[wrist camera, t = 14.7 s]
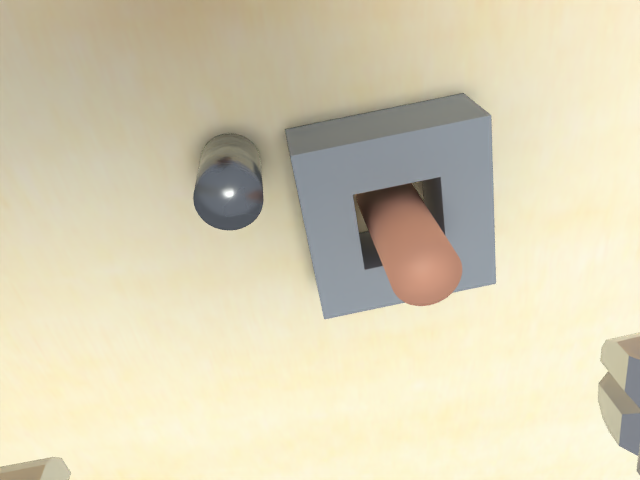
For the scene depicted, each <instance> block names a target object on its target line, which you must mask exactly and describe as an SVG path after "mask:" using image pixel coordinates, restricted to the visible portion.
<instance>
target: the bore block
mask: <svg viewBox="0 0 640 480" xmlns="http://www.w3.org/2000/svg"><path fill="white" fill-rule="evenodd" d="M285 132H286V137H287V142H288V147H289V152H290V157H291V162H292V167H293V172H294V177H295V181H296V186H297V191H298V196H299V201H300V205H301V210H302V215H303V220H304V225H305V229H306V234H307V239H308V244H309V249H310V253H311V258H312V263H313V268H314V273H315V277H316V282H317V287H318V292H319V296H320V301H321V306H322V311H323V316H324V319H328V318H333V317H338V316H343V315H347V314H352V313H357V312H362V311H367V310H371V309H376V308H381V307H386V306H391V305H395V304H400V303H405V302H403V301H402V300H400V299H399V298H398V297H397V296H396V294H395V293H394V291H393V289H392V287H391V284H390V282H389V279H388V277H387V275H386V272H385V270H384V267H383V265H382V262H381V260H380V257H379V255H378V252H377V250H376V247H375V245H374V243H373V240H372V238H371V235H370V233H369V231H367V232H362V233H359V231H358V225H357V218H356V212H355V206H354V200H353V195H354V194H359V193H364V192H369V191H374V190H379V189H384V188H389V187H393V186H398V185H403V184H408V183H413V182H418V181H423V191H424V202H425V205H426V206H427V208H428V210H429V211H430V213H431V214H432V216H433V217H434V219H435V220H436V222H437V224H438V225H439V227H440V228H441V230H442V231H443V233H444V234H445V236H446V238H447V239H448V241H449V242H450V244H451V245H452V247H453V248H454V250H455V252H456V253H457V255H458V256H459V258H460V260H461V263H462V276H461V280H460V282H459V284H458V286H457V287H456V289H455V290H454V291H453V292H458V291H463V290H467V289H472V288H477V287H482V286H487V285H491V284H496V267H495V232H494V197H493V162H492V127H491V115H490V114H489V113H488V112H486V111H485V110H484V109H483V108H481V107H480V106H479V105H478V104H476V103H475V102H474V101H473V100H471V99H470V98H469V97H468V96H466V95H465V94H464V93H462V94H457V95H452V96H448V97H443V98H438V99H433V100H428V101H423V102H418V103H413V104H408V105H403V106H398V107H393V108H388V109H383V110H379V111H374V112H369V113H364V114H359V115H354V116H349V117H344V118H339V119H334V120H329V121H324V122H319V123H314V124H310V125H305V126H300V127H295V128H290V129H285ZM453 292H452V293H453Z"/></svg>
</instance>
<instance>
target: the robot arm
mask: <svg viewBox="0 0 640 480" xmlns="http://www.w3.org/2000/svg"><path fill="white" fill-rule="evenodd" d="M600 361H601V362H602V364H603V365H604V366H605V367H606V369H607V370H608V372H607V374H606V375H605V376H604V377H603V379H602V380H601V381H600V382H599V385H598V402H599V406H600V410H601V414H602V418H603V420H604V422H605V424H606V426H607V428H608V430H609V432H610V434H611V435H612V436H613V438H614V439H615V441H616V442H617V444H618V445H619V446H620V447H622V448H624V449H626V450H628V451H630V452H632V453H634V454H636V455H638V463H637V472H638V473H639V475H640V333H635V334H630V335H626V336H621V337H617V338H612V339H608V340H606V341H605V343H604V344H603V346H602V349H601V359H600ZM70 475H71V472H70V470H69V469H68V467H67V466H66V464H65V462H64V461H63V459H62V458H58V457H51V458H45V459H40V460H34V461H29V462H24V463H18V464H13V465H8V466H2V467H0V480H69V478H70Z"/></svg>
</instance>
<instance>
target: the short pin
mask: <svg viewBox="0 0 640 480" xmlns="http://www.w3.org/2000/svg"><path fill="white" fill-rule="evenodd" d="M193 199H194V206H195V209H196V211H197V213H198V214H199V216H200V217H201V218H202V219H203V220H204V221H205V222H206V223H207V224H209V225H211V226H213V227H215V228H218V229H222V230H237V229H241V228H243V227H246V226H247V225H249V224H251V223H252V222H253V221H254V220H255V219H256V218H257V217H258V215H259V214H260V212H261V209H262V206H263V186H262V172H261V159H260V155H259V152H258V150H257V148H256V147H255V145H254V144H253V143H252V142H251V141H250V140H248V139H247V138H245V137H243V136H241V135H237V134H222V135H219V136H216V137H214V138H213V139H211V140H210V141H209V142H208V143H207V144H206V145H205V147H204V149H203V150H202V153H201V157H200V163H199V168H198V174H197V179H196V184H195V190H194V197H193Z"/></svg>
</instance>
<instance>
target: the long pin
mask: <svg viewBox="0 0 640 480" xmlns="http://www.w3.org/2000/svg"><path fill="white" fill-rule="evenodd" d="M356 198H357V203H358V206H359V208H360V211H361V213H362V216H363V218H364V220H365V223H366V225H367V228H368V230H369V233H370V235H371V238H372V240H373V243H374V245H375V247H376V250H377V252H378V255H379V257H380V260H381V262H382V265H383V267H384V270H385V272H386V275H387V277H388V279H389V282H390V284H391V287H392V289H393V291H394V293H395V294H396V296H397V297H398V298H399V299H400V300H402V301H403V302H405V303H408V304H411V305H415V306H426V305H431V304H435V303H437V302H440V301H442V300H443V299H445V298H446V297H448V296H449V295H450V294H451V293H452V292H453V291H454V290H455V289H456V287H457V286H458V284H459V282H460V280H461V276H462V263H461V260H460V258H459V256H458V255H457V253H456V252H455V250H454V248H453V247H452V245H451V244H450V242H449V241H448V239H447V238H446V236H445V234H444V233H443V231H442V230H441V228H440V227H439V225H438V224H437V222H436V220H435V219H434V217H433V216H432V214H431V213H430V211H429V210H428V208H427V206H426V205H425V203H424V202H423V200H422V199H421V197H420V196H419V194H418V192H417V191H416V189H415V188H414V186H413V185H412V183H408V184H403V185H398V186H393V187H389V188H384V189H379V190H374V191H369V192H364V193H359V194H356Z"/></svg>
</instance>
